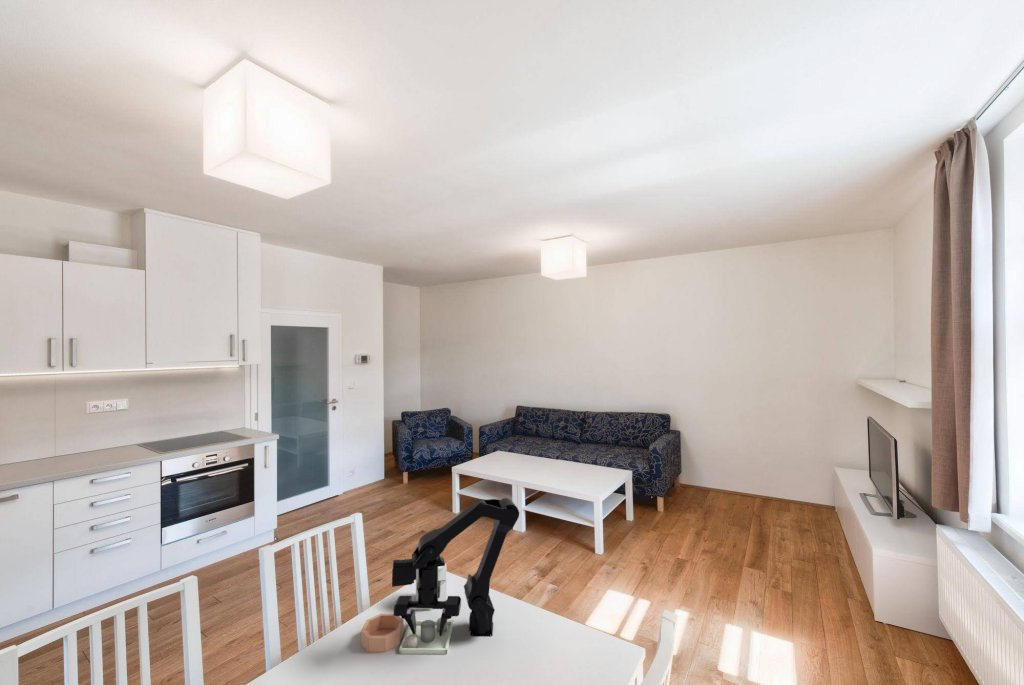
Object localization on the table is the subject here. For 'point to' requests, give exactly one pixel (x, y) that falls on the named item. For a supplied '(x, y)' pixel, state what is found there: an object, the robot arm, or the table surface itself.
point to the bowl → (382, 632)
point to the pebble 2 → (439, 625)
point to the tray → (434, 647)
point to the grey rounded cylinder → (427, 631)
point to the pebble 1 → (412, 641)
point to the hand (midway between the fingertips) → (427, 635)
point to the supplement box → (440, 577)
